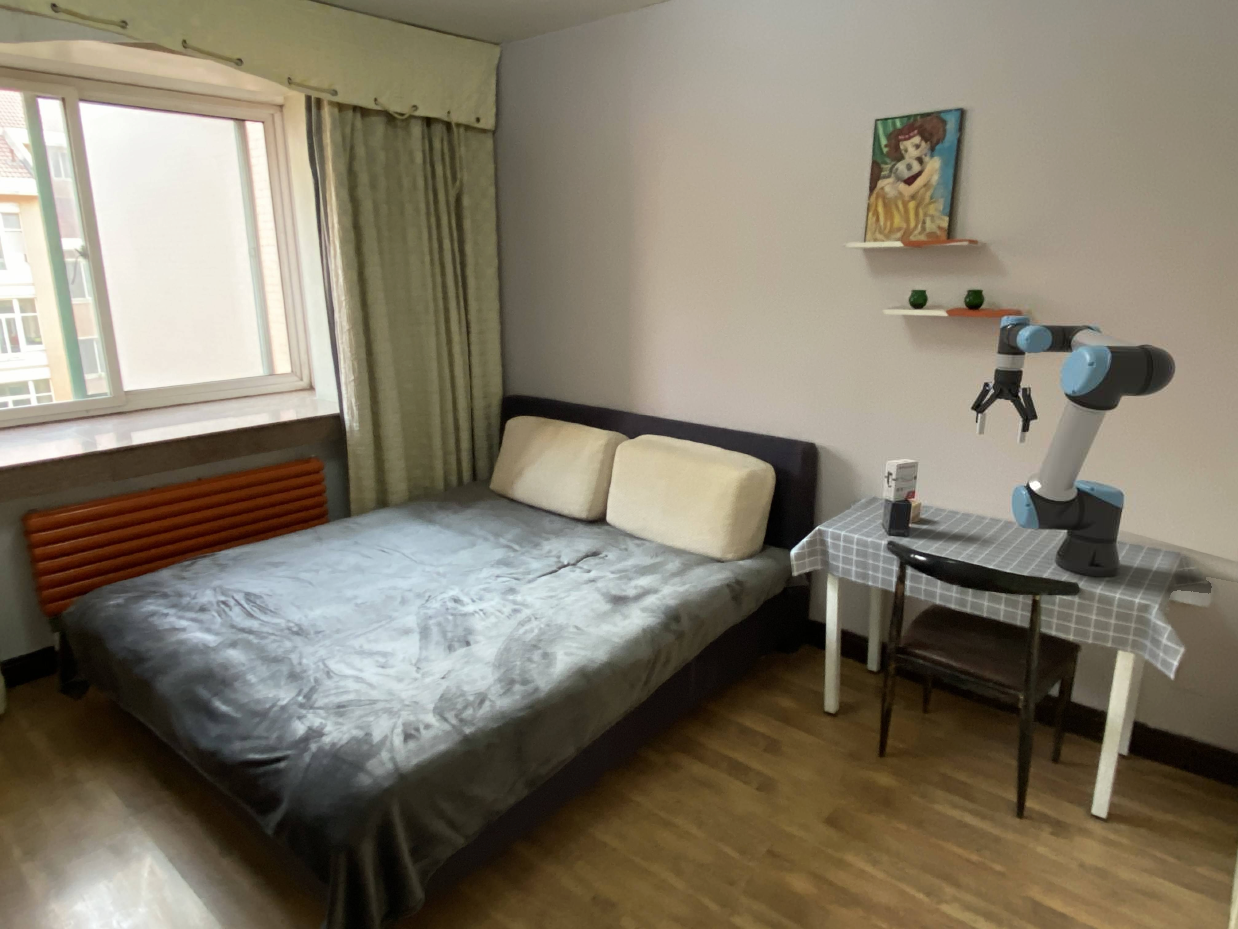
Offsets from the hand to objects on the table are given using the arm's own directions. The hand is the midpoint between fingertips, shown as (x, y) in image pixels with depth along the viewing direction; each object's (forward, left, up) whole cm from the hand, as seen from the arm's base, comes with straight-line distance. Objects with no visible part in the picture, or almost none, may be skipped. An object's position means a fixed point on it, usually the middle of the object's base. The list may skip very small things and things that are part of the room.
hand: (999, 438), depth 233 cm
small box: (+12, +28, -29) cm, 42 cm away
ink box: (+12, +28, -18) cm, 36 cm away
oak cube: (+18, +16, -29) cm, 38 cm away
